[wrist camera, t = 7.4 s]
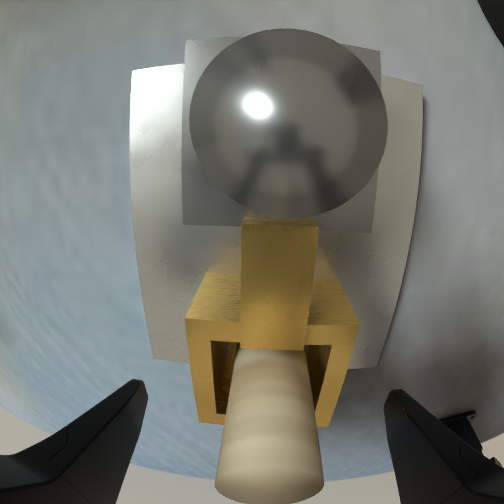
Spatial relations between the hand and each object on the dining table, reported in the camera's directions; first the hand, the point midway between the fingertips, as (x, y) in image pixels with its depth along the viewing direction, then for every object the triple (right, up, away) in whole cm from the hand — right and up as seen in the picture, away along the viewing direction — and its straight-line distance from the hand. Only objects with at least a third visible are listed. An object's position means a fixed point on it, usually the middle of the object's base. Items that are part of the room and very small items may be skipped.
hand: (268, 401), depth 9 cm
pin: (0, +2, +4) cm, 4 cm away
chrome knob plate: (0, +6, +3) cm, 7 cm away
